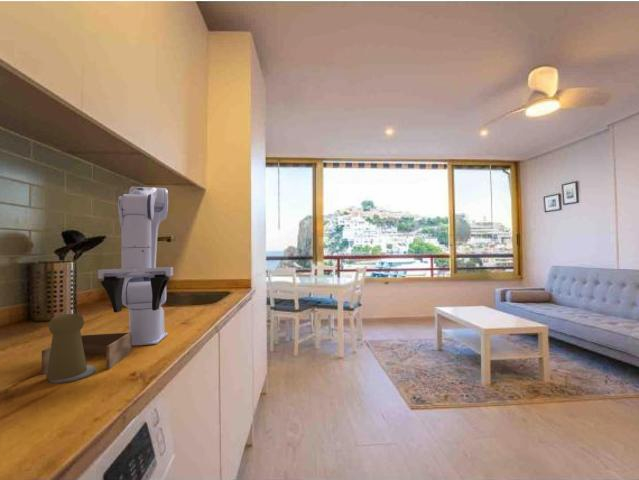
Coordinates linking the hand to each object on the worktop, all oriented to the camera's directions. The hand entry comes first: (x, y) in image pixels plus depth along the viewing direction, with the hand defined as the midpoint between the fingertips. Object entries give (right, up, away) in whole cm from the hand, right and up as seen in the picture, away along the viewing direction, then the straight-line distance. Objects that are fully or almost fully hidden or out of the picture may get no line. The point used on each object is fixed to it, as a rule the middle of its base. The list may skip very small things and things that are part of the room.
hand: (136, 310), depth 69 cm
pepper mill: (-8, -10, -9) cm, 16 cm away
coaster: (-7, -10, -9) cm, 15 cm away
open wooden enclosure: (-9, -11, -2) cm, 14 cm away
